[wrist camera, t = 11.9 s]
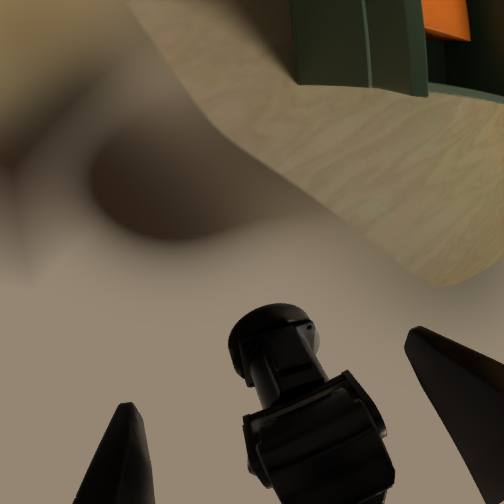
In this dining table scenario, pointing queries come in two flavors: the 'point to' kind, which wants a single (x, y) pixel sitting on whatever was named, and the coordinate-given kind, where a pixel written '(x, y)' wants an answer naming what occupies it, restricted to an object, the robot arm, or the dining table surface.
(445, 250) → the dining table surface
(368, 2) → the flap
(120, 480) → the robot arm
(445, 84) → the green storage bin
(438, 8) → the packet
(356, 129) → the dining table surface
